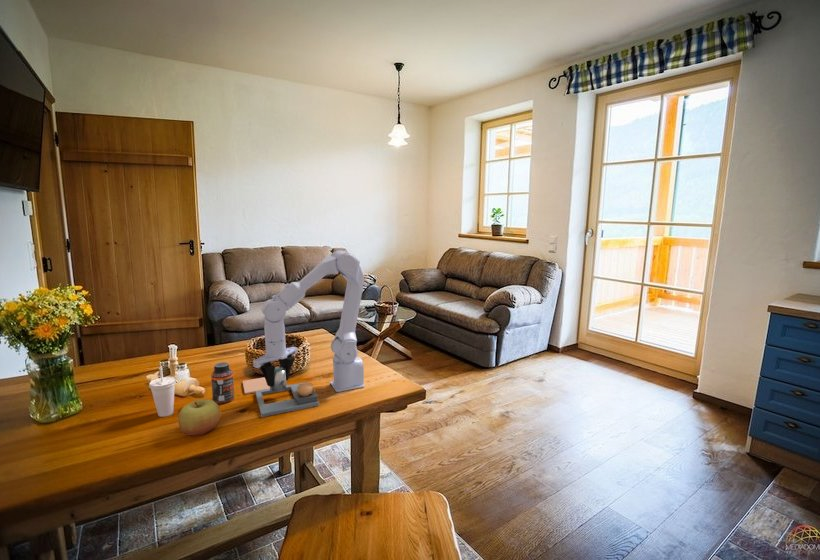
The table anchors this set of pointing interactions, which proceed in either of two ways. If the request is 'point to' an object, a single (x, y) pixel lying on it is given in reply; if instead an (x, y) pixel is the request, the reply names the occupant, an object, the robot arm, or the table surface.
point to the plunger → (305, 389)
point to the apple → (199, 417)
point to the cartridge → (279, 379)
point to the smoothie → (163, 394)
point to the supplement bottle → (222, 383)
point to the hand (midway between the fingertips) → (277, 382)
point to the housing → (286, 405)
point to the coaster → (255, 385)
